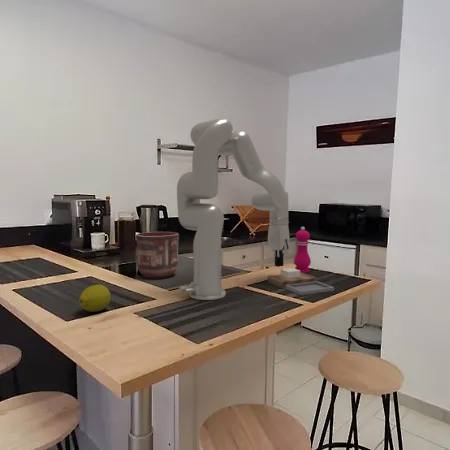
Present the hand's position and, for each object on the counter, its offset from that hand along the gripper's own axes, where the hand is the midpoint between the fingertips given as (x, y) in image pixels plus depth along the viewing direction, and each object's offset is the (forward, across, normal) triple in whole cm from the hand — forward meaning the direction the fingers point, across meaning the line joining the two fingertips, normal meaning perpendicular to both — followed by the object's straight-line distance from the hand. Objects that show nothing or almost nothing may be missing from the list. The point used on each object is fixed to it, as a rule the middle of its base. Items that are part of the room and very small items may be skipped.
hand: (279, 265), depth 155 cm
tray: (+5, +21, -1) cm, 22 cm away
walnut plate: (+5, +10, 0) cm, 11 cm away
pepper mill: (+5, -6, +16) cm, 17 cm away
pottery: (+4, -25, -44) cm, 51 cm away
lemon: (+4, +14, -74) cm, 75 cm away
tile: (+2, +9, 0) cm, 9 cm away
